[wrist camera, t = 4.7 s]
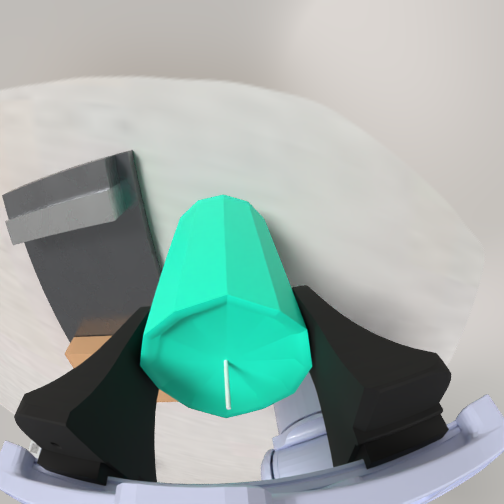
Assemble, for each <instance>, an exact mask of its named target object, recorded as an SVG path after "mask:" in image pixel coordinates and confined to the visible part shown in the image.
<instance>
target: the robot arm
mask: <svg viewBox="0 0 504 504" xmlns="http://www.w3.org/2000/svg"><path fill="white" fill-rule="evenodd" d="M292 291H293V294H294V296H295V299H296V301H297V304H298V307H299V309H300V312H301V315H302V317H303V320H304V323H305V325H306V328H307V332H308V339H309V346H310V353H311V360H312V368H311V369H310V371H309V372H308V374H307V375H306V377H305V378H304V380H303V381H302V383H301V384H300V386H299V387H298V389H297V390H296V392H295V393H294V394H292V395H290V396H288V397H286V398H284V399H282V400H280V401H278V402H276V403H274V409H275V415H276V421H277V427H278V432H279V435H278V436H276V437H273V438H272V439H273V445H274V449H270V450H268V451H267V452H266V454H265V456H264V459H263V461H262V464H261V480H262V481H253V482H241V483H226V484H172V483H157V479H156V469H155V450H154V429H155V410H156V403H157V397H158V392H159V388H158V387H157V386H156V385H155V384H154V383H153V381H152V380H151V379H150V378H149V376H148V375H147V374H146V373H145V371H144V370H143V369H142V367H141V366H140V359H141V349H142V340H143V334H144V330H145V327H146V323H147V320H148V316H149V313H150V309H151V306H146V307H140V308H139V309H138V310H137V311H136V312H135V313H134V314H133V315H132V316H131V317H130V318H129V319H128V320H127V321H126V322H125V323H124V324H123V325H122V326H121V327H120V328H119V329H118V330H117V331H116V333H115V334H114V335H113V336H112V337H111V338H110V339H108V340H107V341H106V342H105V343H104V344H103V345H102V346H101V347H100V348H99V349H98V350H97V351H96V352H95V353H94V354H92V355H91V356H90V357H89V358H87V359H86V360H85V361H84V362H82V363H81V364H80V365H78V366H77V367H75V368H74V369H72V370H71V371H69V372H68V373H66V374H65V375H63V376H62V377H60V378H58V379H56V380H55V381H53V382H51V383H49V384H47V385H45V386H43V387H41V388H38V389H36V390H34V391H31V392H29V393H26V394H24V396H23V398H22V401H21V403H20V405H19V407H18V409H17V412H16V414H15V416H14V418H15V421H16V423H17V425H18V426H19V427H20V429H21V430H22V431H23V432H24V433H25V434H26V435H27V436H28V437H29V438H30V439H32V440H33V441H34V442H35V443H36V444H37V445H38V446H39V447H40V448H42V449H41V452H40V455H39V458H36V457H34V455H33V454H32V453H30V452H29V451H28V450H27V449H25V448H23V447H22V446H19V445H17V444H14V443H12V442H9V441H5V442H4V445H3V447H2V450H1V452H0V490H2V491H3V492H5V493H6V494H8V495H9V496H11V497H12V498H14V499H16V500H17V501H19V502H21V503H22V504H427V503H428V502H430V501H432V500H434V499H436V498H438V497H440V496H441V495H443V494H445V493H446V492H448V491H450V490H452V489H453V488H455V487H457V486H458V485H460V484H462V483H463V482H464V481H466V480H468V479H469V478H470V477H472V476H474V475H475V474H477V473H478V472H480V471H481V470H483V469H484V468H485V467H486V466H488V465H489V464H490V463H491V462H492V461H493V460H495V459H496V458H497V457H498V456H499V455H500V454H501V453H502V452H503V451H504V417H503V416H502V414H501V412H500V411H499V410H498V408H497V406H496V405H495V403H494V402H493V401H492V399H491V398H490V396H489V395H488V394H486V395H484V396H483V397H481V398H479V399H478V400H476V401H474V402H473V403H471V404H469V405H468V406H466V407H465V408H464V409H463V410H462V411H461V412H460V413H459V414H458V416H457V418H456V420H455V421H453V422H451V423H449V424H447V425H446V423H445V422H444V420H443V418H442V416H441V413H442V412H443V409H442V407H441V405H440V404H439V402H440V400H441V399H442V397H443V395H444V393H445V391H446V390H447V388H448V386H449V383H450V381H451V373H450V371H449V369H448V368H447V366H446V365H445V364H444V362H443V361H442V359H441V358H440V357H439V356H438V355H437V353H433V352H428V351H423V350H419V349H414V348H411V347H408V346H404V345H401V344H398V343H395V342H393V341H390V340H388V339H385V338H383V337H381V336H378V335H376V334H374V333H372V332H370V331H368V330H366V329H364V328H363V327H361V326H359V325H357V324H356V323H354V322H352V321H351V320H349V319H348V318H346V317H345V316H343V315H342V314H341V313H339V312H338V311H337V310H335V309H334V308H333V307H331V306H330V305H329V304H328V303H326V302H325V301H324V300H323V299H322V298H321V297H319V296H318V295H317V294H316V293H315V292H314V291H313V290H312V289H310V288H309V287H308V286H307V285H305V286H299V287H293V288H292Z"/></svg>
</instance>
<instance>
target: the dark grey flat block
mask: <svg viewBox="0 0 504 504" xmlns="http://www.w3.org/2000/svg"><path fill="white" fill-rule="evenodd" d="M2 196H3V200H4V204H5V208H6V211H7V215H8V218H9V219H8V220H7V221H5V222H6V225H7V229H8V232H9V235H10V238H11V241H12V244H13V245H15V244H19V243H23V242H24V243H25V246H26V248H27V251H28V254H29V257H30V259H31V262H32V264H33V267H34V269H35V272H36V274H37V277H38V279H39V281H40V284H41V286H42V288H43V290H44V293H45V295H46V297H47V299H48V301H49V303H50V305H51V307H52V309H53V311H54V313H55V315H56V317H57V319H58V321H59V323H60V325H61V327H62V329H63V331H64V332H65V334H66V336H67V338H68V340H69V341H70V343H71V341H72V339H73V337H92V336H113V335H114V334H115V333H116V331H117V330H118V329H119V328H120V327H121V326H122V325H123V324H124V323H125V322H126V321H127V320H128V319H129V318H130V317H131V316H132V315H133V314H134V313H135V312H136V311H137V310H138V309H139V308H140V307H146V306H152V302H153V299H154V296H155V292H156V289H157V286H158V283H159V279H160V276H161V270H160V267H159V263H158V260H157V256H156V252H155V249H154V245H153V241H152V237H151V234H150V230H149V226H148V222H147V218H146V213H145V209H144V205H143V200H142V196H141V191H140V187H139V182H138V177H137V172H136V167H135V162H134V157H133V151H132V150H131V151H127V152H123V153H119V154H116V155H112V156H108V157H105V158H101V159H98V160H95V161H91V162H88V163H85V164H82V165H78V166H75V167H72V168H69V169H66V170H63V171H60V172H58V173H55V174H52V175H49V176H47V177H44V178H41V179H39V180H36V181H33V182H31V183H28V184H26V185H23V186H21V187H19V188H16V189H14V190H12V191H10V192H8V193H6V194H4V195H2Z"/></svg>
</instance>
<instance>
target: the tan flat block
mask: <svg viewBox="0 0 504 504" xmlns="http://www.w3.org/2000/svg"><path fill="white" fill-rule="evenodd" d="M111 337H112V336H92V337H73V339H72V341H71V343H70V345H69V347H68V348H67V350H66V352H65V355H66V357H67V359H68V360H69V362H70V363H71V365H72V366H73V368H75V367H77V366H78V365H80V364H81V363H82V362H84V361H85V360H86V359H87V358H89V357H90V356H91V355H92V354H94V353H95V352H96V351H97V350H98V349H99V348H100V347H101V346H102V345H103V344H104V343H105V342H106V341H107V340H108V339H110V338H111ZM157 402H179V401H177V400H175V399H174V398H172V397H171V396H169V395H168V394H166V393H165V392H163V391H162V390H160V389H159V392H158V397H157Z"/></svg>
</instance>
